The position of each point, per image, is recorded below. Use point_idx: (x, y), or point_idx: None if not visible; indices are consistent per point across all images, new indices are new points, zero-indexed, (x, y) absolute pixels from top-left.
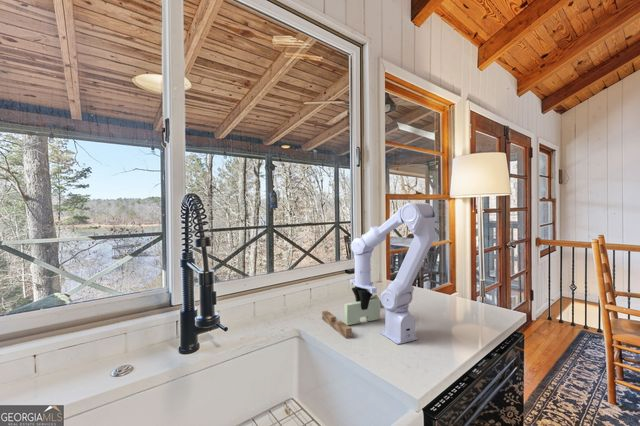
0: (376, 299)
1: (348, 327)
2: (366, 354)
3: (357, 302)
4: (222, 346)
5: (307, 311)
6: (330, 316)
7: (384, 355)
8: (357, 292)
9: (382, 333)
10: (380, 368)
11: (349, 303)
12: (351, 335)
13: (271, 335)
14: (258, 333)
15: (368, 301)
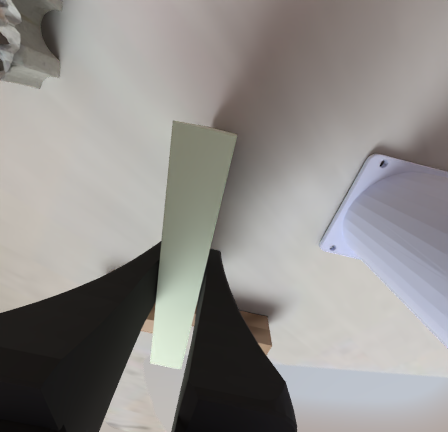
0: (198, 155)
1: (261, 347)
2: (353, 346)
3: (170, 317)
4: (150, 426)
5: (20, 285)
6: (148, 330)
7: (398, 328)
8: (111, 390)
9: (339, 254)
10: (409, 362)
11: (159, 348)
12: (267, 322)
13: (147, 389)
14: (127, 395)
15: (224, 290)
